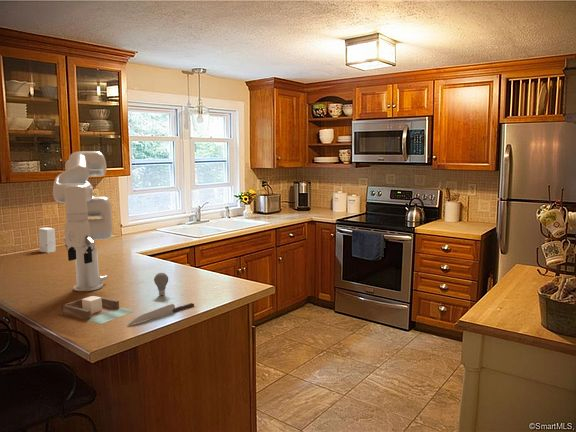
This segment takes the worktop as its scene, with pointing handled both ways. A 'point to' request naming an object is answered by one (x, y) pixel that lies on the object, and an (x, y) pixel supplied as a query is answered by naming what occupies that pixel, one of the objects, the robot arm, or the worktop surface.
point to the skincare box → (47, 240)
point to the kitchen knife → (159, 313)
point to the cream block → (92, 304)
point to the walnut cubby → (106, 314)
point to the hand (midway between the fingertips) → (80, 261)
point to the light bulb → (161, 282)
